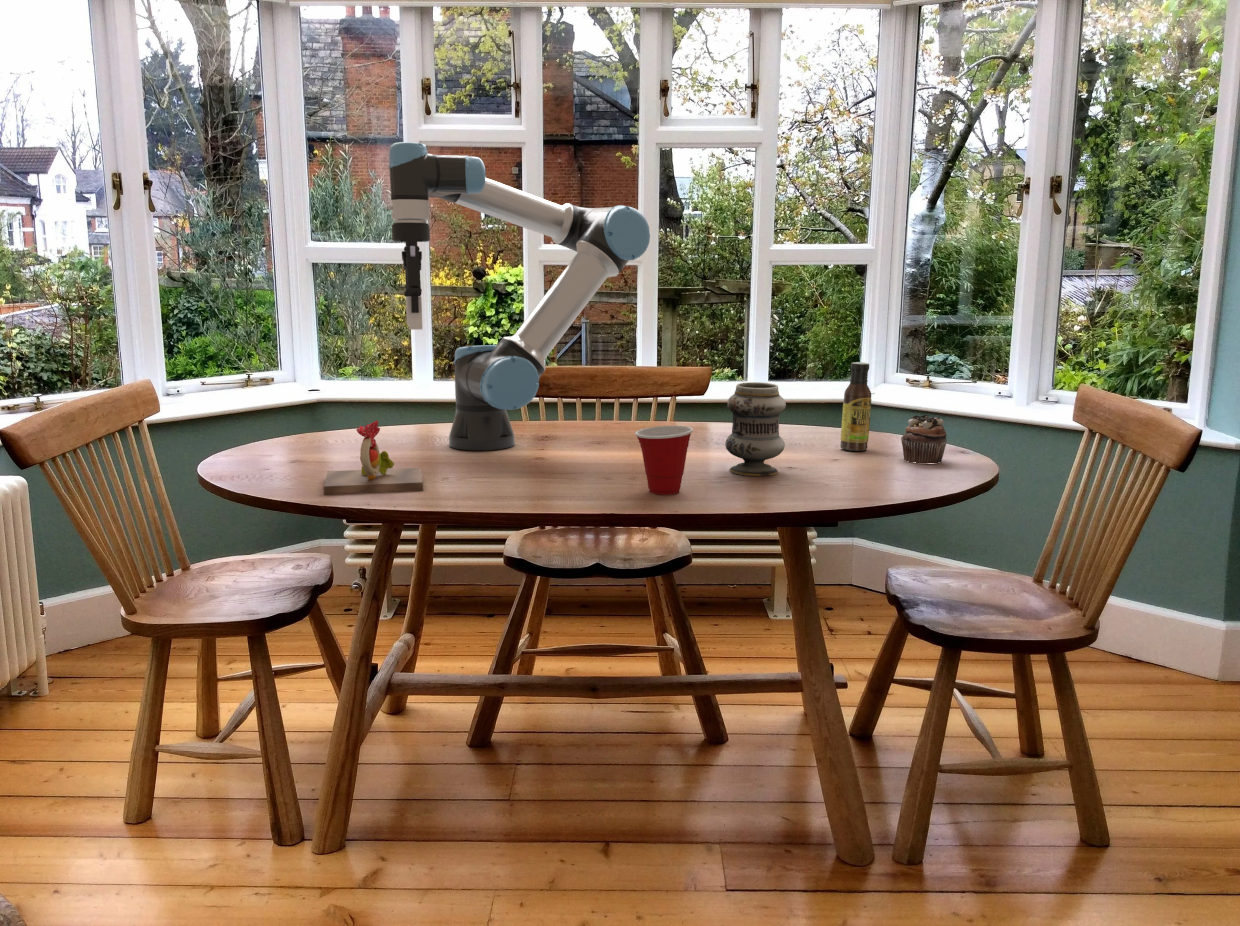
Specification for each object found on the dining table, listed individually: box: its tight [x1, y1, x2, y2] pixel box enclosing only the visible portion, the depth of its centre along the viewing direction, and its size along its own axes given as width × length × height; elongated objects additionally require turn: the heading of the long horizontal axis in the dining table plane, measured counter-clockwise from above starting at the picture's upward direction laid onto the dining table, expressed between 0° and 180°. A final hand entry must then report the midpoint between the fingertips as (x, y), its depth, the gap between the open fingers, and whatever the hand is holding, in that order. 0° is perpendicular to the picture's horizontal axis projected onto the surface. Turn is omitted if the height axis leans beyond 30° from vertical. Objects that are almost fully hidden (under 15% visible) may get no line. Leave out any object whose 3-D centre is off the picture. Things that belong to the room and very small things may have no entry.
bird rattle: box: [356, 420, 395, 480], centre depth 199 cm, size 6×11×9 cm
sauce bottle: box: [840, 361, 872, 452], centre depth 236 cm, size 6×6×20 cm
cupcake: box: [900, 414, 948, 464], centre depth 225 cm, size 10×10×10 cm
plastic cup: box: [634, 425, 693, 496], centre depth 194 cm, size 11×11×12 cm
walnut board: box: [323, 467, 424, 495], centre depth 200 cm, size 18×14×2 cm
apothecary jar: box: [724, 381, 787, 477], centre depth 212 cm, size 12×12×18 cm
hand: (414, 327), depth 216 cm, fingers open, 13 cm apart
